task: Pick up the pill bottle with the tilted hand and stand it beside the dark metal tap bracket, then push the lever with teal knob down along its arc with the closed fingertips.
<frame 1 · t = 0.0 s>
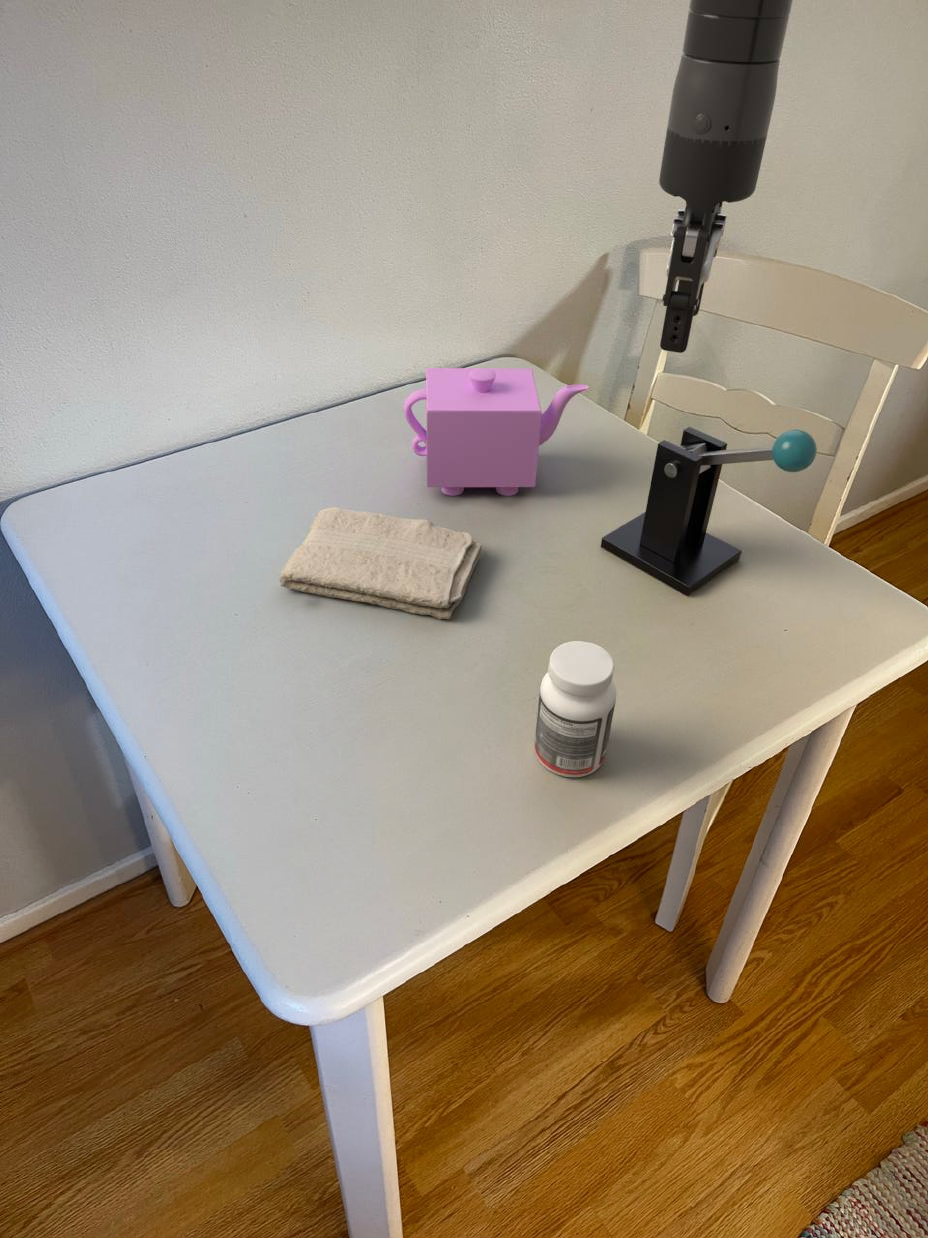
hand: (679, 331, 79), 23 cm above the table, tool pointing down, fingers open, 8 cm apart
tap bracket: (669, 553, 92), on the table
lever with teal knob: (740, 455, 81), point 14 cm above the table, hinge at 28.0°
pill bottle: (568, 754, 72), on the table
washcloth: (384, 573, 89), on the table
teapot: (491, 476, 103), on the table
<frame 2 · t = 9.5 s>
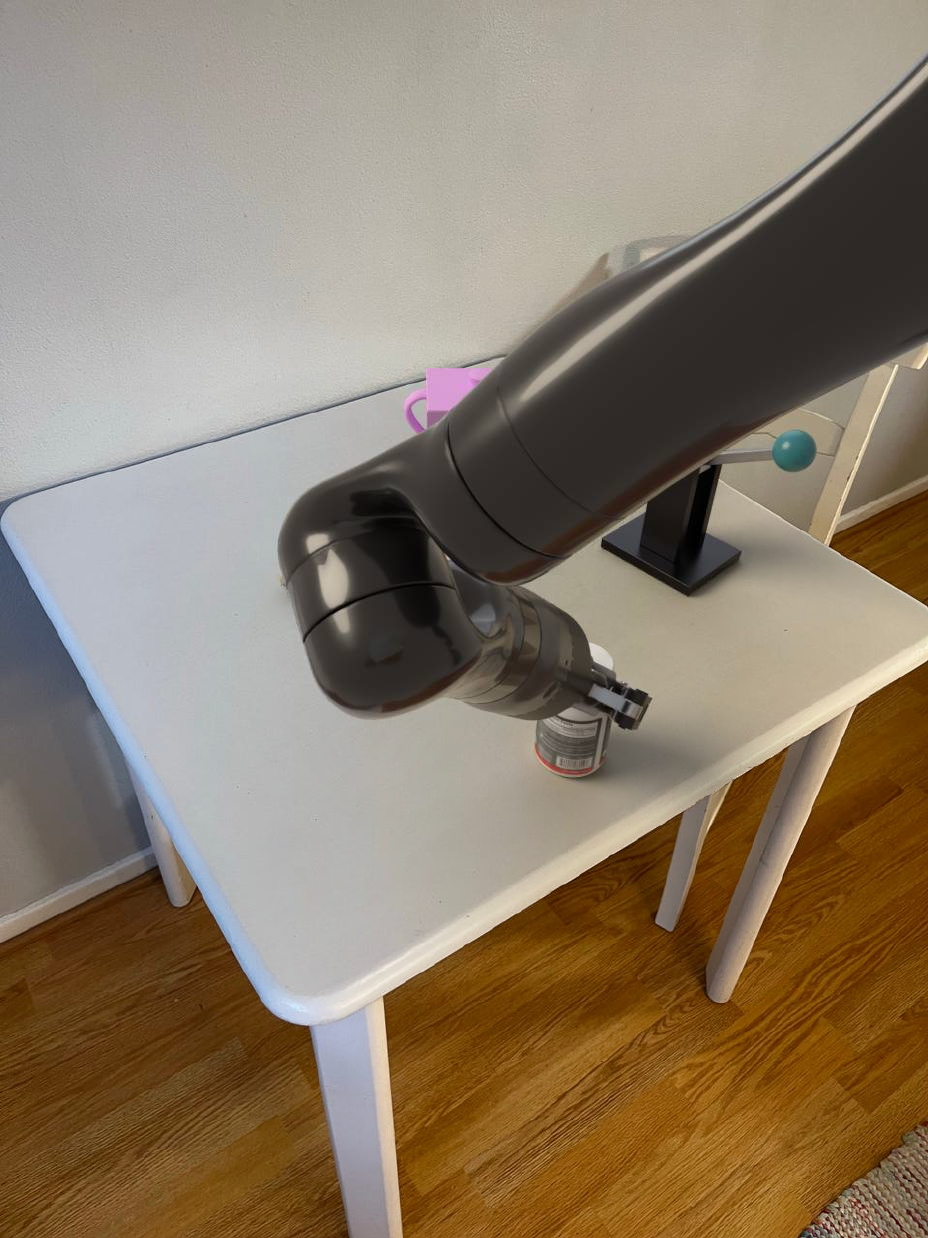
hand: (589, 684, 69), 6 cm above the table, tool tilted 45°, fingers closed on pill bottle, 5 cm apart
pill bottle: (568, 754, 72), on the table, touching gripper
everything else where it was.
when the fingers open (6 cm above the table, at t = 18.2 s): pill bottle stays where it is, on the table.
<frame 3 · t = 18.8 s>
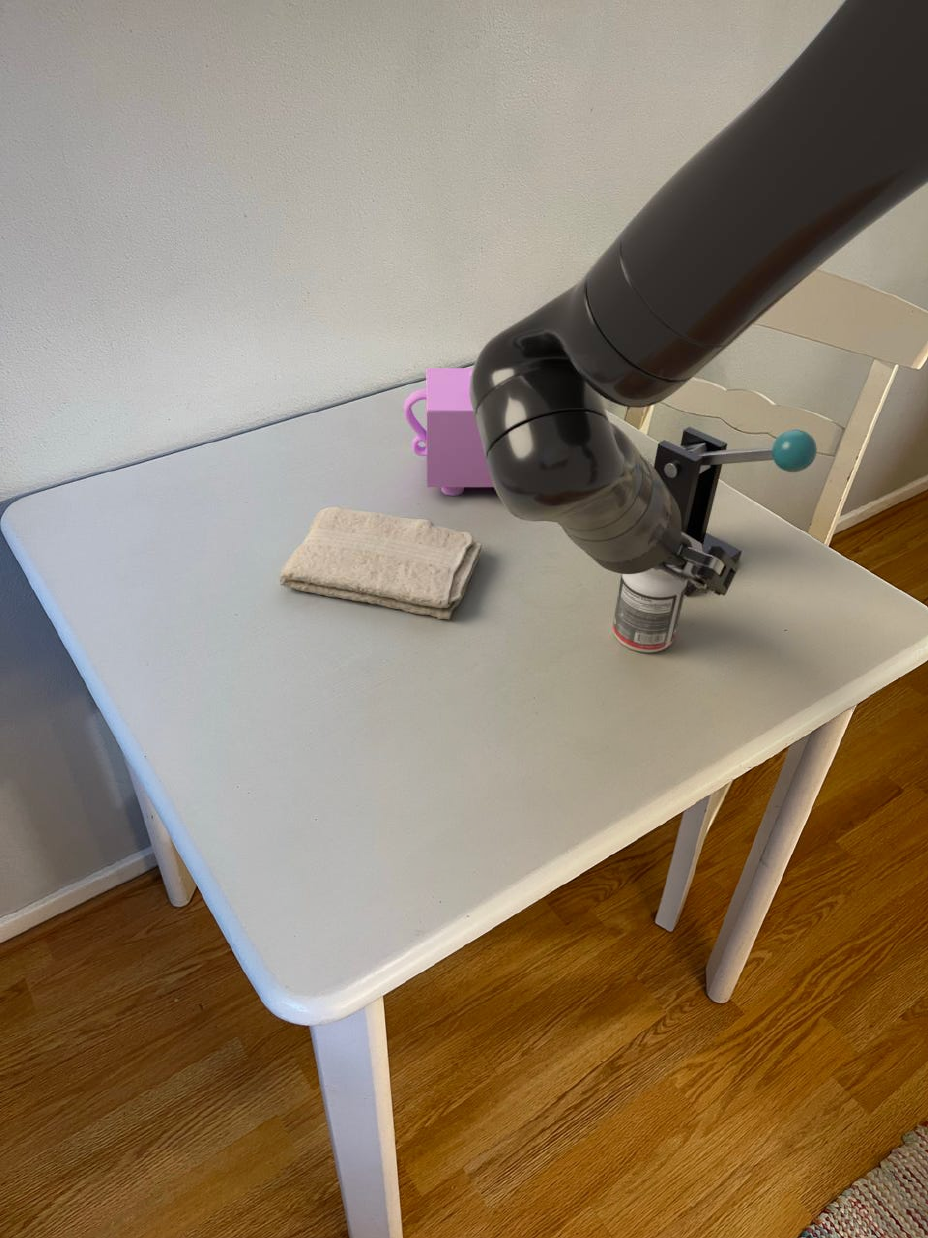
hand: (663, 563, 79), 7 cm above the table, tool tilted 45°, fingers open, 8 cm apart
pill bottle: (642, 635, 83), on the table
everything else where it was.
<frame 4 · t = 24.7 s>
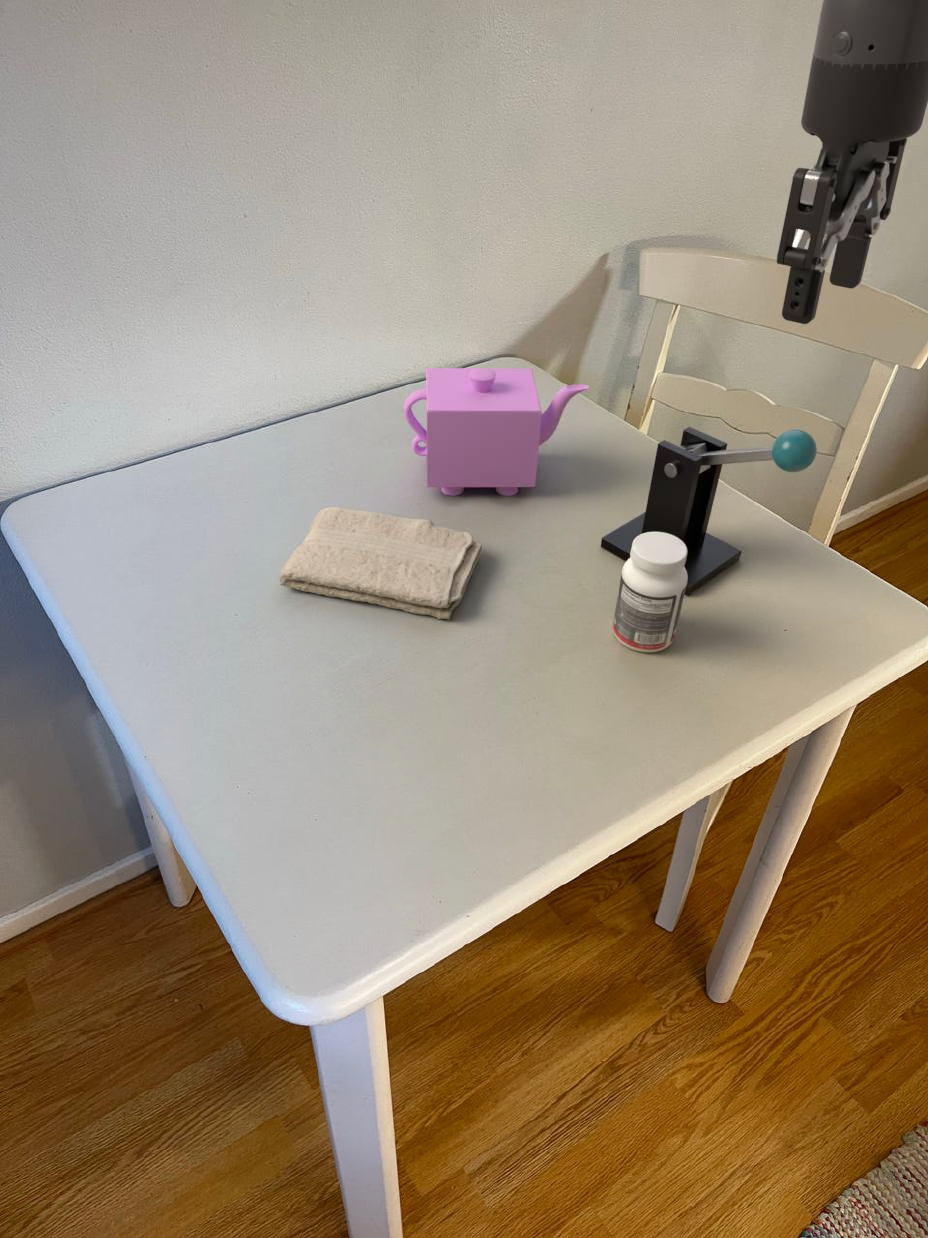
hand: (821, 302, 67), 29 cm above the table, tool pointing down, fingers open, 8 cm apart
nothing on the table moved.
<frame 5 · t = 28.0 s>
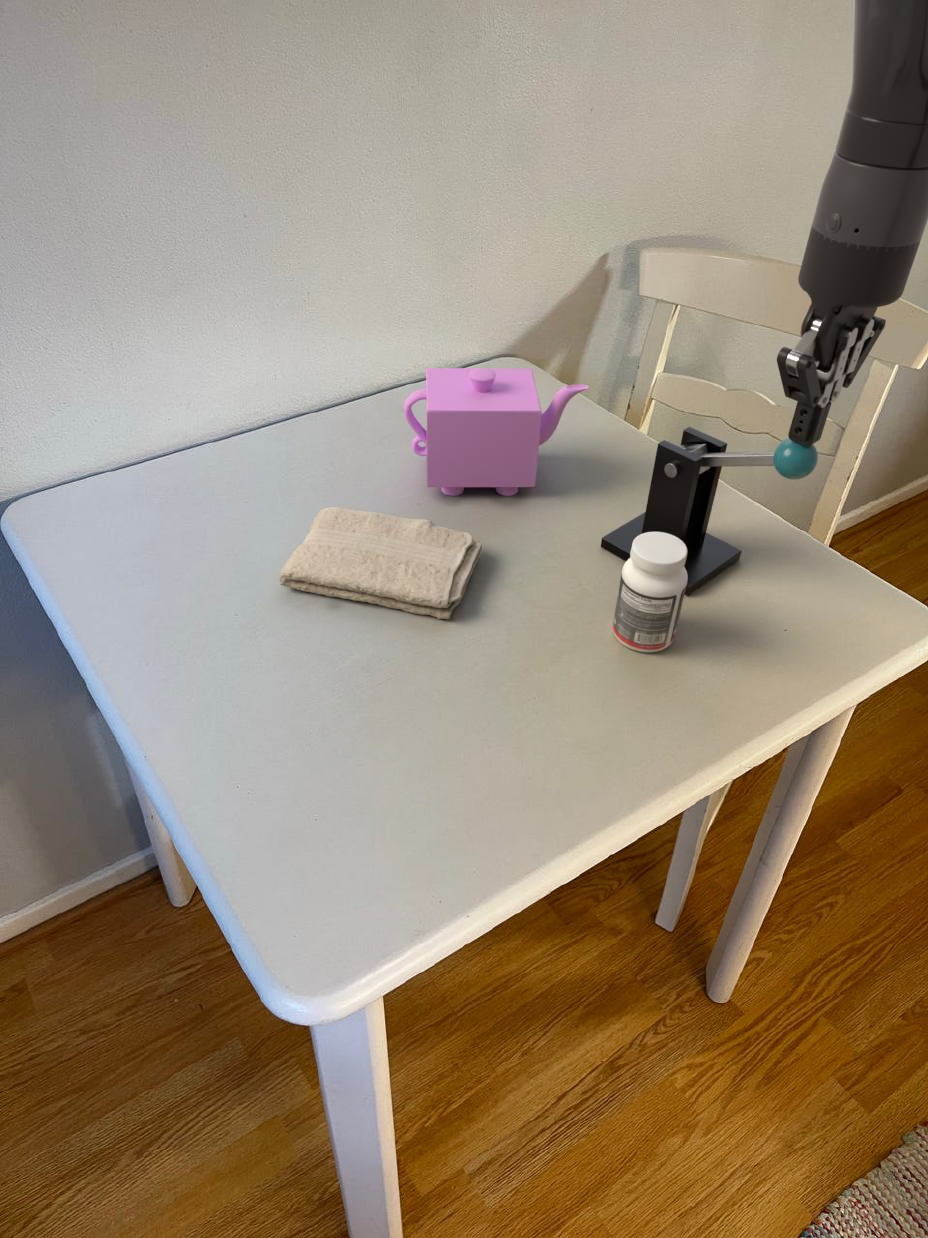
hand: (803, 440, 76), 17 cm above the table, tool pointing down, fingers closed
lever with teal knob: (741, 459, 81), point 13 cm above the table, hinge at 24.6°
everything else where it was.
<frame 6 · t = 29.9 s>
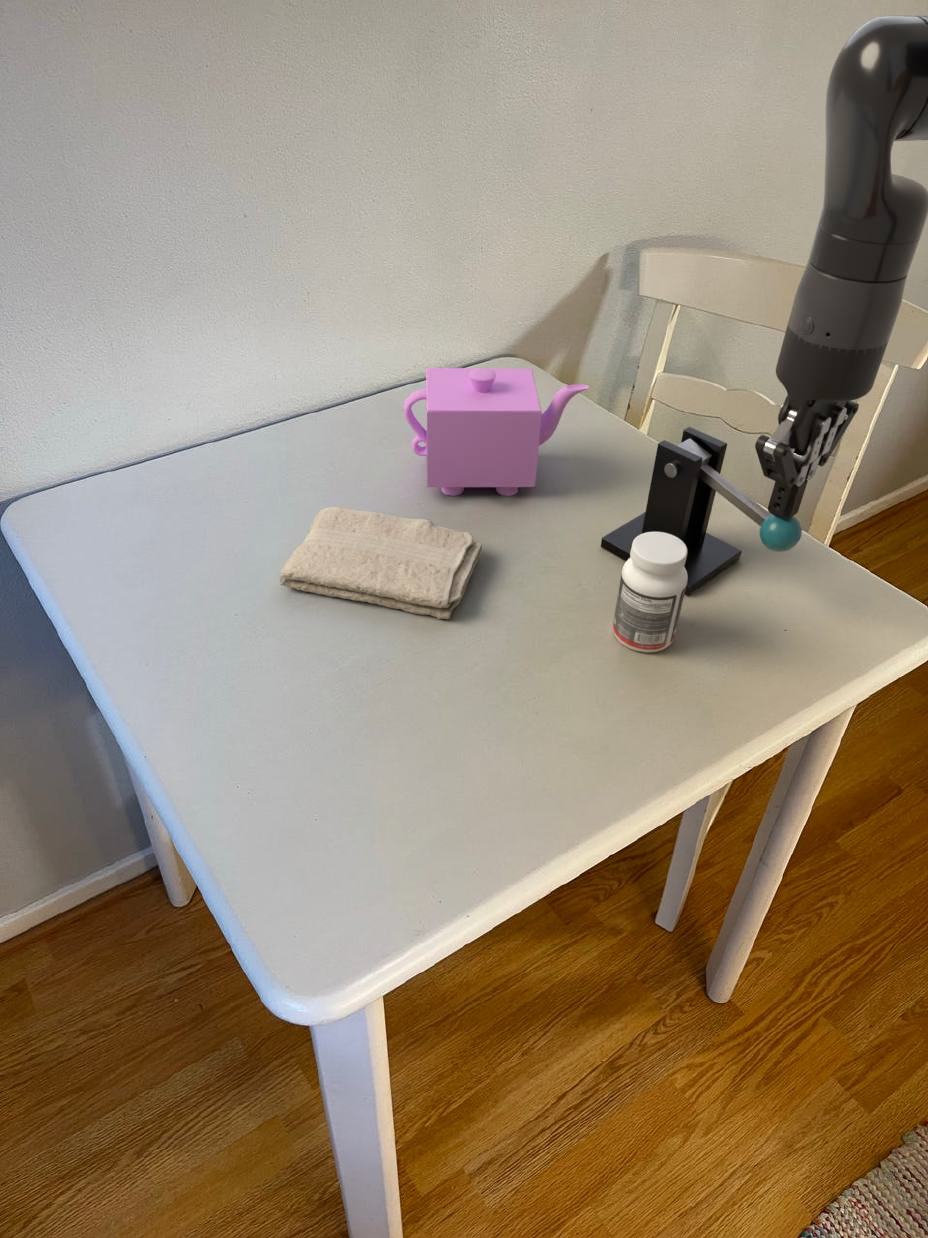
hand: (781, 513, 80), 10 cm above the table, tool pointing down, fingers closed
lever with teal knob: (735, 496, 83), point 10 cm above the table, hinge at -14.4°, touching gripper
everything else where it was.
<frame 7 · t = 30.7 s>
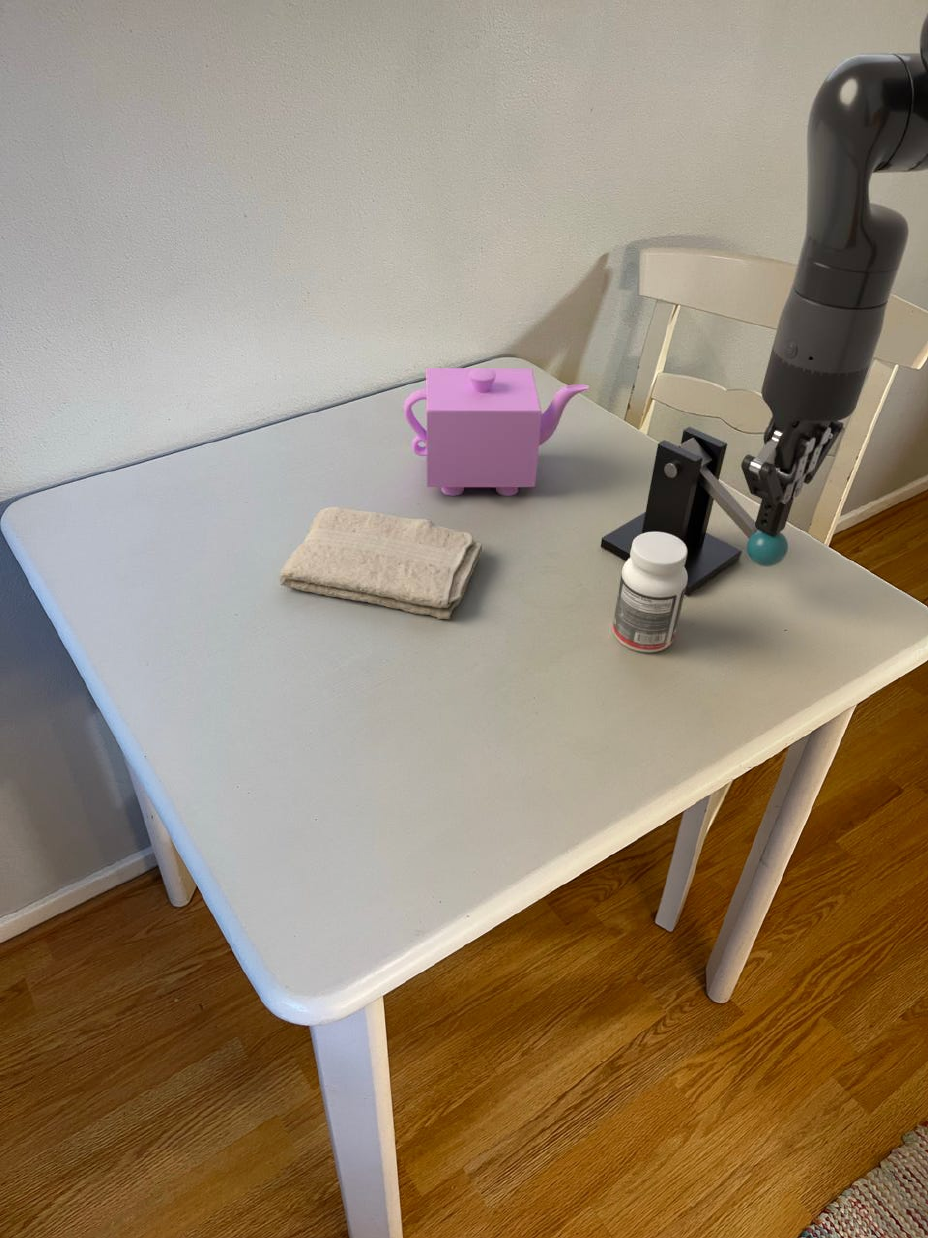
hand: (768, 529, 82), 8 cm above the table, tool pointing down, fingers closed
lever with teal knob: (729, 504, 84), point 8 cm above the table, hinge at -26.2°, touching gripper
everything else where it was.
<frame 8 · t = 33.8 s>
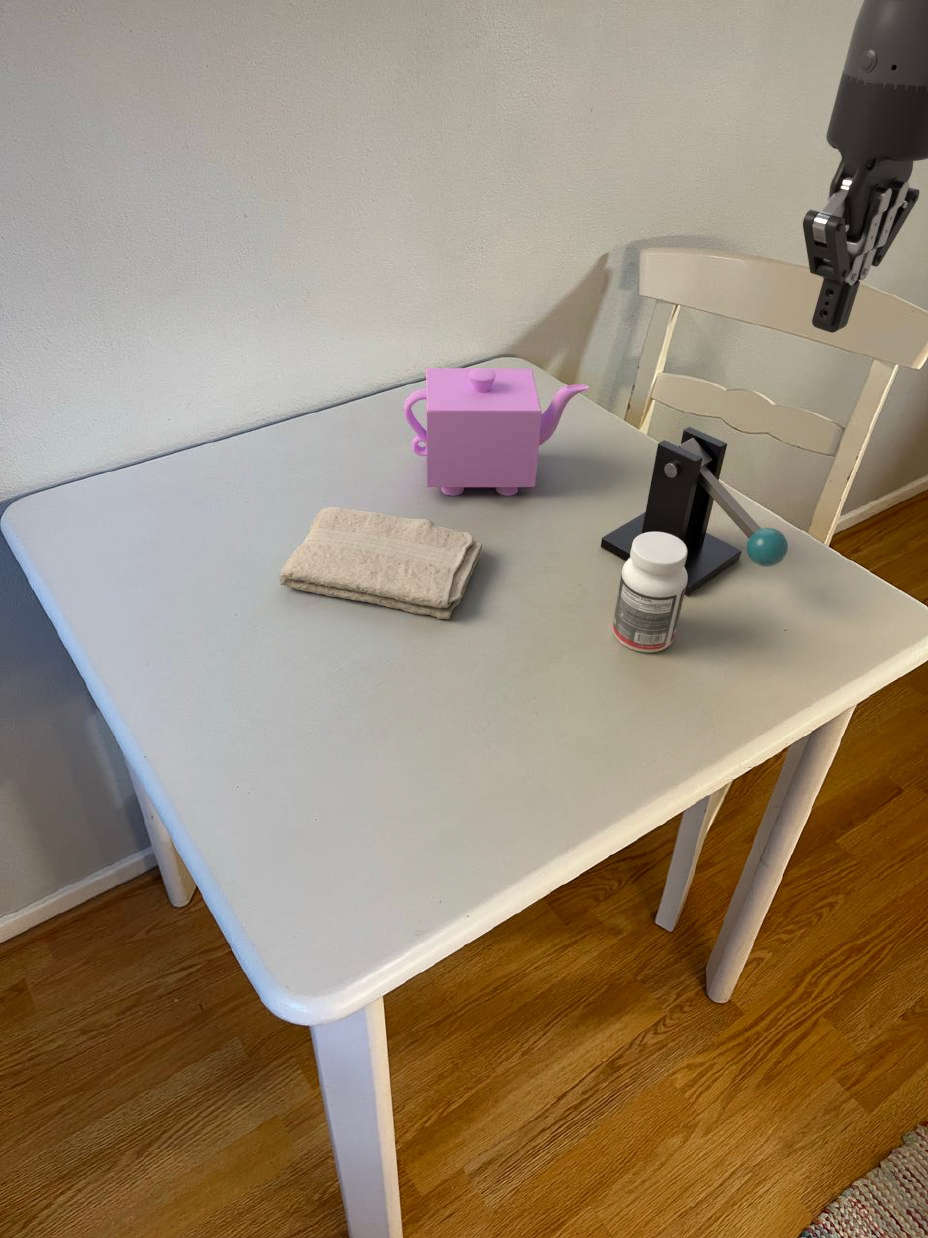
hand: (828, 327, 70), 27 cm above the table, tool pointing down, fingers closed
lever with teal knob: (729, 504, 84), point 8 cm above the table, hinge at -26.3°
everything else where it was.
at the end: pill bottle inside the target area on the table beside the tap bracket (0.2 cm from its centre), on the table; pill bottle tilted 0°; lever with teal knob at -26° (first picture: +28°) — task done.
